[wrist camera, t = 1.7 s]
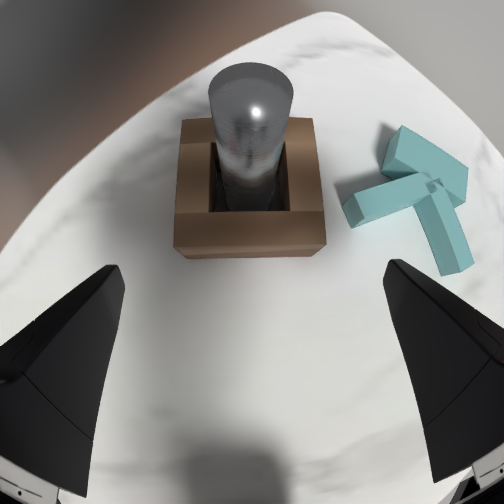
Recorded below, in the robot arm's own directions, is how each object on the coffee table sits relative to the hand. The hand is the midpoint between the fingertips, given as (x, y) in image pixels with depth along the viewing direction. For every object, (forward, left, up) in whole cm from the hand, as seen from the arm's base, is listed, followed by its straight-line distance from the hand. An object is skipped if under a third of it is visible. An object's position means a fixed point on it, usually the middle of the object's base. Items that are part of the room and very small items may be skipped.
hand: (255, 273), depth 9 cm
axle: (+5, -6, -13) cm, 15 cm away
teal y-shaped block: (-7, -15, -13) cm, 21 cm away
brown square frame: (+5, -6, -13) cm, 15 cm away
